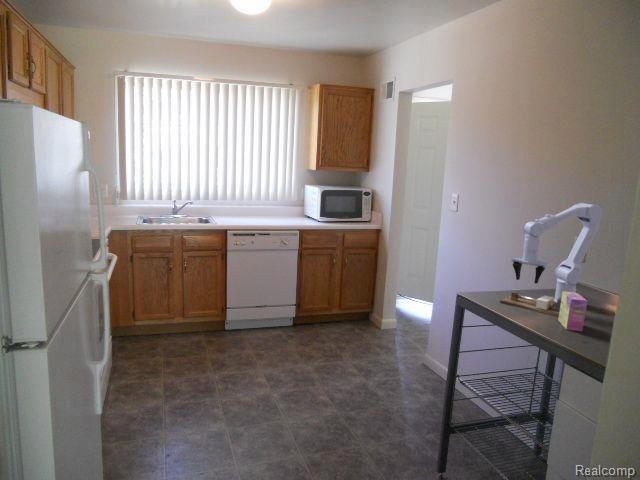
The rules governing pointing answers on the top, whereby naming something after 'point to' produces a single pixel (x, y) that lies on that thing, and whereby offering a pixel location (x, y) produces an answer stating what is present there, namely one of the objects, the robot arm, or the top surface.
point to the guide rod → (532, 299)
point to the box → (572, 311)
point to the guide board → (527, 304)
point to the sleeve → (544, 302)
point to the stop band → (551, 303)
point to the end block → (558, 304)
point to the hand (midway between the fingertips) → (526, 281)
